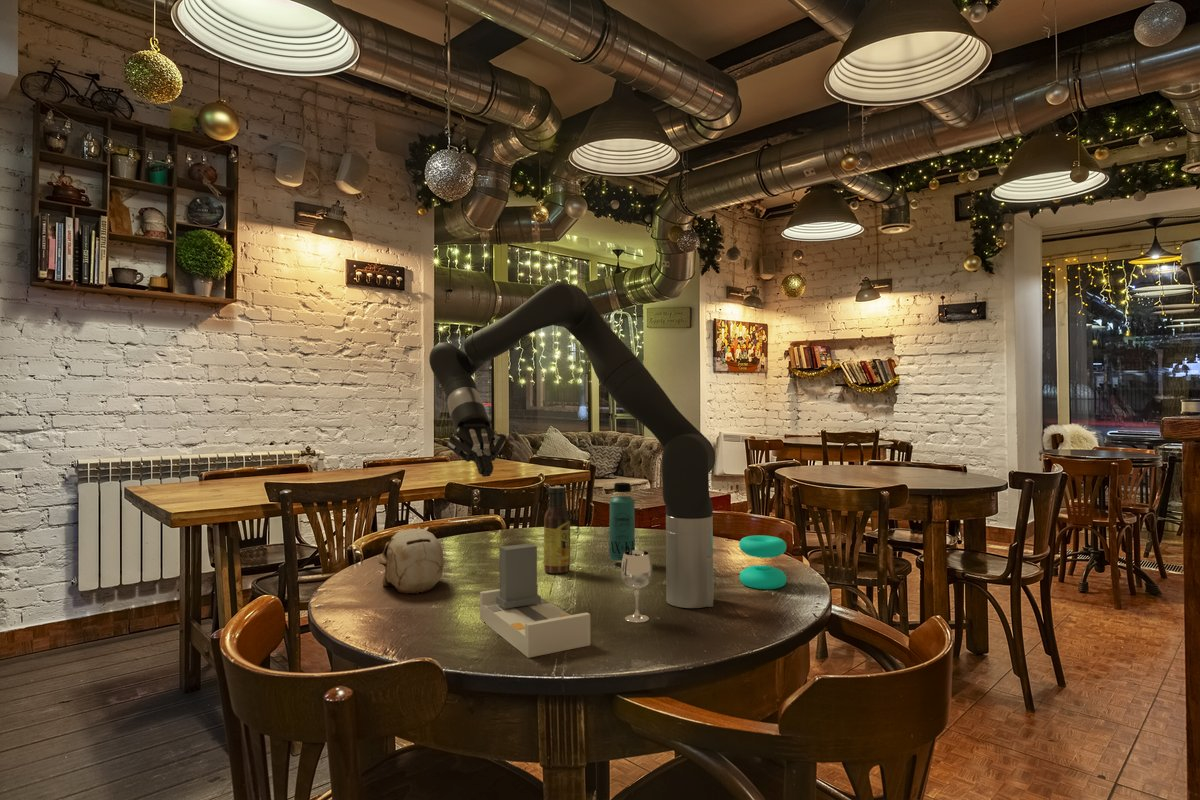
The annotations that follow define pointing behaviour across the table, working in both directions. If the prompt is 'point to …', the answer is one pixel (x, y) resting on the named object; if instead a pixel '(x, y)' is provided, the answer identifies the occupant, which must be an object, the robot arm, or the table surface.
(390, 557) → the coin bank
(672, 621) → the table surface
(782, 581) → the donuts
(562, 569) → the sauce bottle
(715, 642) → the table surface
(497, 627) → the tray
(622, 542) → the beverage bottle
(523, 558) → the switch tab
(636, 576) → the wineglass
